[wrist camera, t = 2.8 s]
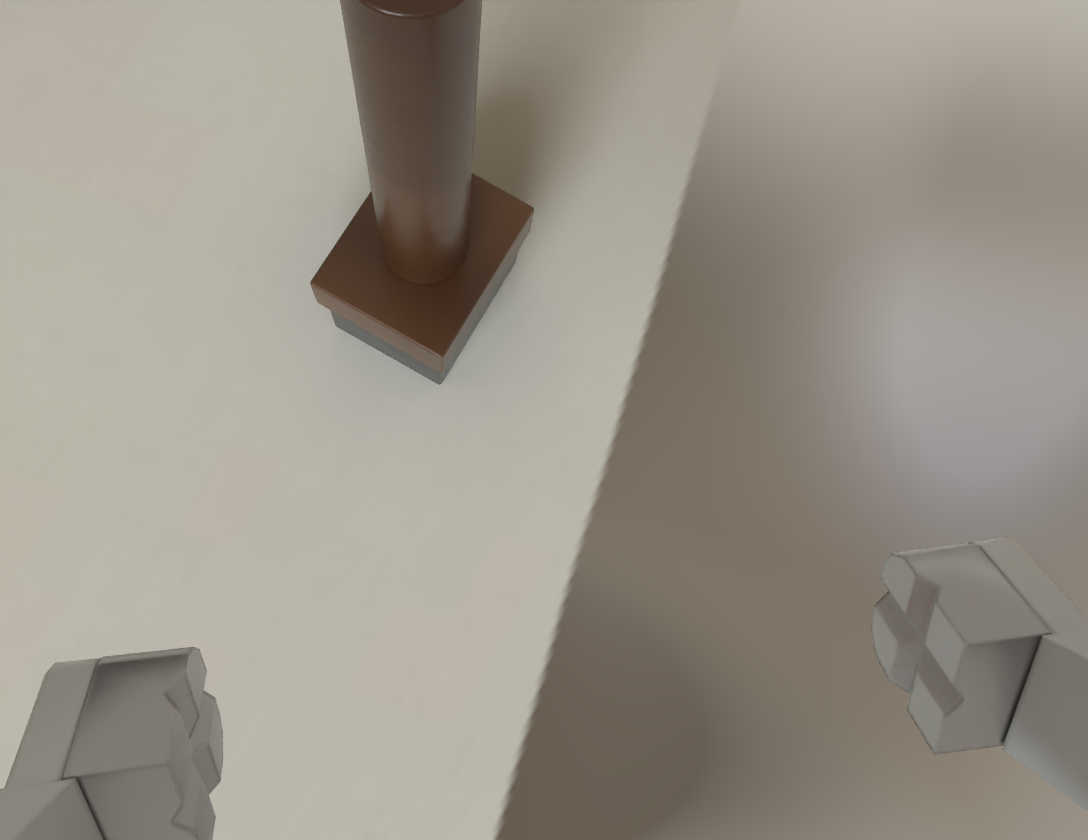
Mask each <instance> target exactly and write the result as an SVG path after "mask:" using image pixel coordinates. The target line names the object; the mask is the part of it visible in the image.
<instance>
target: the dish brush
mask: <svg viewBox="0 0 1088 840" xmlns="http://www.w3.org/2000/svg"><path fill="white" fill-rule="evenodd" d="M340 3H341V9H342V15H343V21H344V27H345V33H346V39H347V45H348V51H349V57H350V63H351V69H352V75H353V82H354V88H355V94H356V100H357V106H358V112H359V118H360V124H361V130H362V136H363V142H364V148H365V154H366V160H367V166H368V173H369V179H370V185H371V192H370V194H369V195H368V197H367V198H366V200H365V201H364V203H363V204H362V206H361V207H360V209H359V210H358V212H357V213H356V215H355V216H354V218H353V219H352V221H351V222H350V224H349V225H348V227H347V228H346V230H345V231H344V233H343V234H342V236H341V237H340V239H339V240H338V242H337V243H336V245H335V246H334V248H333V249H332V251H331V252H330V254H329V255H328V257H327V258H326V259H325V261H324V262H323V264H322V265H321V267H320V268H319V270H318V271H317V273H316V274H315V276H314V277H313V279H312V280H311V283H310V284H311V287H312V289H313V292H314V295H315V297H316V300H317V302H318V303H319V304H321V305H323V306H325V307H326V308H328V309H330V311H331V314H332V316H333V319H334V322H335V325H336V326H337V327H339V328H341V329H342V330H344V331H346V332H348V333H349V334H351V335H353V336H355V337H356V338H358V339H360V340H362V341H363V342H365V343H367V344H369V345H370V346H372V347H374V348H376V349H377V350H379V351H381V352H383V353H385V354H386V355H388V356H390V357H392V358H393V359H395V360H397V361H399V362H400V363H402V364H404V365H406V366H407V367H409V368H411V369H413V370H414V371H416V372H418V373H420V374H421V375H423V376H425V377H427V378H429V379H430V380H432V381H434V382H436V383H437V384H441V383H442V382H443V380H444V378H445V377H446V375H447V373H448V372H449V370H450V368H451V367H452V365H453V363H454V362H455V360H456V359H457V357H458V355H459V354H460V352H461V350H462V349H463V347H464V345H465V344H466V342H467V341H468V339H469V337H470V336H471V334H472V332H473V331H474V329H475V327H476V326H477V324H478V323H479V321H480V319H481V318H482V316H483V314H484V313H485V311H486V309H487V308H488V306H489V304H490V303H491V301H492V300H493V298H494V296H495V295H496V293H497V291H498V290H499V288H500V286H501V285H502V283H503V282H504V280H505V278H506V277H507V275H508V273H509V272H510V270H511V268H512V267H513V265H514V263H515V260H516V255H517V251H518V249H519V247H520V246H521V244H522V242H523V241H524V239H525V237H526V236H527V234H528V233H529V230H530V226H531V221H532V216H533V211H534V208H533V207H531V206H529V205H528V204H526V203H524V202H522V201H521V200H519V199H517V198H515V197H513V196H512V195H510V194H508V193H506V192H505V191H503V190H501V189H499V188H497V187H496V186H494V185H492V184H490V183H489V182H487V181H485V180H483V179H481V178H480V177H478V176H476V175H474V174H473V173H472V162H473V145H474V128H475V111H476V94H477V77H478V60H479V43H480V26H481V9H482V0H340Z"/></svg>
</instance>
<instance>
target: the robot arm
mask: <svg viewBox="0 0 1088 840" xmlns="http://www.w3.org/2000/svg"><path fill="white" fill-rule="evenodd" d="M881 580H882V581H883V583H884V585H885V586H886V588H887V589H888V592H887V593H886V594H885V595H884V597H882V598H881V599H880V600H879V601H878V602H877V604H876V605H875V606H874V611H873V617H872V623H871V630H872V638H873V646H874V650H875V653H876V655H877V658H878V661H879V664H880V666H881V667H882V669H883V671H884V672H885V674H886V676H887V678H888V679H889V681H890V682H892V683H894V684H895V685H897V686H899V687H900V688H902V689H904V690H905V691H907V692H908V693H910V698H909V703H908V707H907V711H908V713H909V714H910V716H911V717H912V719H913V721H914V723H915V724H916V726H917V727H918V729H919V730H920V732H921V734H922V736H923V737H924V739H925V740H926V742H927V744H928V745H929V747H930V749H931V750H932V752H933V754H942V753H950V752H958V751H966V750H973V749H981V748H988V747H996V746H1003V748H1002V750H1004V751H1005V752H1006V753H1008V754H1009V755H1011V756H1012V757H1013V758H1015V759H1016V760H1018V761H1019V762H1020V763H1021V764H1023V765H1024V766H1026V767H1027V768H1028V769H1030V770H1031V771H1033V772H1034V773H1035V774H1037V775H1038V776H1039V777H1041V778H1042V779H1043V780H1045V781H1046V782H1047V783H1049V784H1050V785H1052V786H1053V787H1054V788H1056V789H1057V790H1058V791H1060V792H1061V793H1063V794H1064V795H1065V796H1067V797H1068V798H1069V799H1071V800H1072V801H1074V802H1075V803H1076V804H1077V805H1079V806H1080V807H1082V808H1083V809H1084V810H1086V811H1087V812H1088V618H1087V617H1086V616H1085V615H1084V614H1083V613H1082V612H1081V610H1080V609H1079V608H1078V607H1077V606H1076V605H1075V604H1074V603H1073V601H1071V599H1070V598H1069V597H1068V596H1067V595H1066V594H1065V593H1064V591H1063V590H1062V589H1061V588H1060V587H1059V586H1058V585H1057V584H1056V583H1055V582H1054V580H1053V579H1052V578H1051V577H1050V576H1049V575H1048V574H1047V573H1046V571H1045V570H1044V569H1043V568H1042V567H1041V566H1040V565H1039V564H1038V562H1036V560H1035V559H1034V558H1033V557H1032V556H1031V555H1030V554H1029V552H1028V551H1027V550H1026V549H1025V548H1024V547H1023V546H1022V545H1021V544H1020V543H1019V542H1018V541H1016V540H1014V539H1012V538H1010V537H1001V538H994V539H987V540H980V541H974V542H969V543H967V544H966V543H961V544H954V545H947V546H940V547H933V548H926V549H919V550H912V551H905V552H898V553H892V554H890V555H889V557H888V558H887V559H886V561H885V562H884V566H883V570H882V574H881ZM206 672H207V670H206V667H205V664H204V661H203V658H202V655H201V653H200V650H199V649H197V648H195V647H188V648H179V649H170V650H161V651H152V652H143V653H134V654H125V655H115V656H106V657H102V658H98V659H89V660H79V661H69V662H60V663H55V664H54V665H53V666H52V667H51V668H50V669H49V670H48V672H47V673H46V674H45V676H44V679H43V681H42V684H41V687H40V690H39V693H38V695H37V698H36V701H35V704H34V707H33V709H32V712H31V715H30V718H29V721H28V723H27V726H26V729H25V732H24V735H23V737H22V740H21V743H20V746H19V749H18V752H17V754H16V757H15V760H14V763H13V766H12V768H11V771H10V774H9V777H8V780H7V782H6V785H5V788H4V789H0V840H212V838H213V831H214V824H215V817H216V816H215V813H214V810H213V807H212V804H211V801H210V798H209V794H210V793H211V792H212V791H213V789H214V788H215V787H216V786H217V785H218V784H219V782H220V780H221V772H222V764H223V731H222V725H221V718H220V713H219V709H218V706H217V702H216V699H215V697H213V696H212V695H210V694H209V693H207V692H205V691H204V684H205V678H206Z"/></svg>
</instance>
